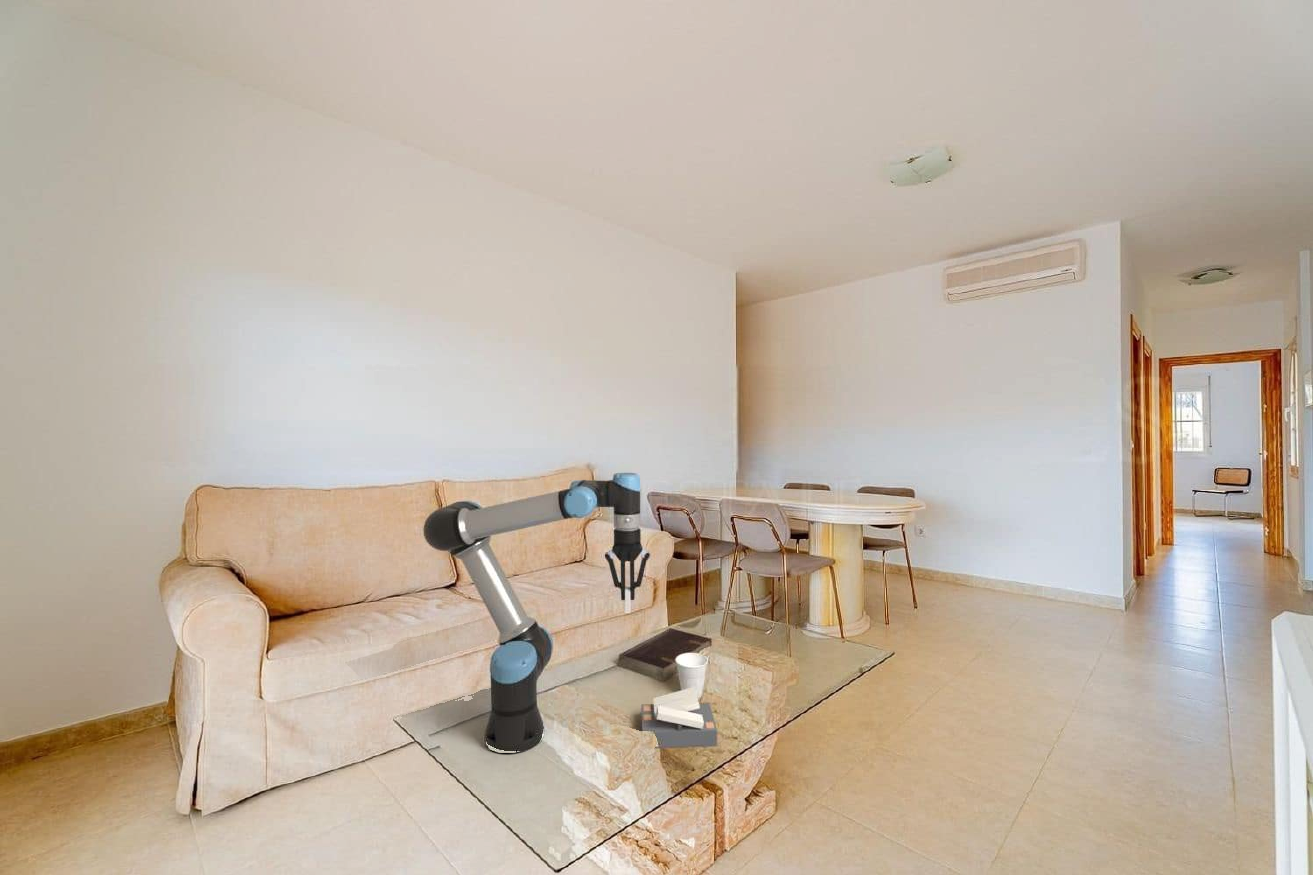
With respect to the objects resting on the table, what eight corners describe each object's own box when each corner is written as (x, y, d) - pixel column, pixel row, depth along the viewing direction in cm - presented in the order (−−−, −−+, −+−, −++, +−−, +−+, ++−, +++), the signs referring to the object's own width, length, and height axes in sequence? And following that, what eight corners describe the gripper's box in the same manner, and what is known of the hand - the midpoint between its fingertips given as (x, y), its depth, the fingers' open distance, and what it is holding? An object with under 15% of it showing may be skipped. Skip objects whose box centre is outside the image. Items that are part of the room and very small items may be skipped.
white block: (656, 720, 146) (654, 714, 146) (655, 712, 150) (653, 706, 150) (700, 707, 147) (698, 702, 147) (698, 700, 151) (696, 695, 150)
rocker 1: (655, 710, 151) (653, 705, 151) (654, 703, 155) (653, 698, 155) (697, 698, 151) (696, 693, 151) (696, 692, 155) (694, 686, 155)
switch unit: (642, 748, 141) (642, 727, 141) (641, 718, 155) (641, 699, 155) (717, 745, 142) (717, 724, 142) (709, 716, 156) (709, 697, 156)
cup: (706, 705, 162) (706, 668, 162) (672, 702, 164) (672, 665, 164) (710, 688, 172) (710, 653, 171) (678, 685, 174) (678, 651, 173)
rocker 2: (656, 719, 142) (658, 713, 141) (656, 711, 145) (657, 705, 145) (702, 728, 142) (703, 722, 142) (700, 720, 146) (702, 714, 146)
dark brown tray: (669, 639, 211) (669, 626, 211) (711, 652, 199) (711, 638, 199) (618, 667, 188) (618, 653, 188) (663, 683, 176) (663, 668, 176)
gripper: (603, 531, 152) (604, 616, 153) (650, 530, 153) (651, 615, 153) (604, 525, 159) (605, 607, 160) (649, 525, 160) (650, 606, 161)
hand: (627, 611), depth 157 cm, fingers closed
